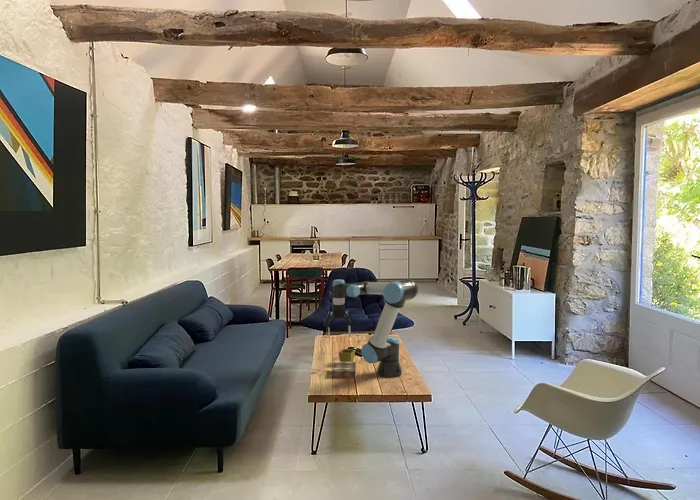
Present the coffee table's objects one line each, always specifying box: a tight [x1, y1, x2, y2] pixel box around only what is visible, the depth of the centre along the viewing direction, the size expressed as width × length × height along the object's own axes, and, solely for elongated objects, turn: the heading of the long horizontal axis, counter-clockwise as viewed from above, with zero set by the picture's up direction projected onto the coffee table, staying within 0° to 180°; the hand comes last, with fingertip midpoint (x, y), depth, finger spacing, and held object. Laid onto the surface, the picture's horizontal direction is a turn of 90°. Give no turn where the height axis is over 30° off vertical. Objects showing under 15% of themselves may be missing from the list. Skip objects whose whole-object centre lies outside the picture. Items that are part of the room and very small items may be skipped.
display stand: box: [331, 361, 357, 379], centre depth 301 cm, size 14×14×6 cm
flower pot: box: [338, 348, 356, 362], centre depth 320 cm, size 9×9×9 cm
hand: (339, 336), depth 312 cm, fingers open, 13 cm apart
